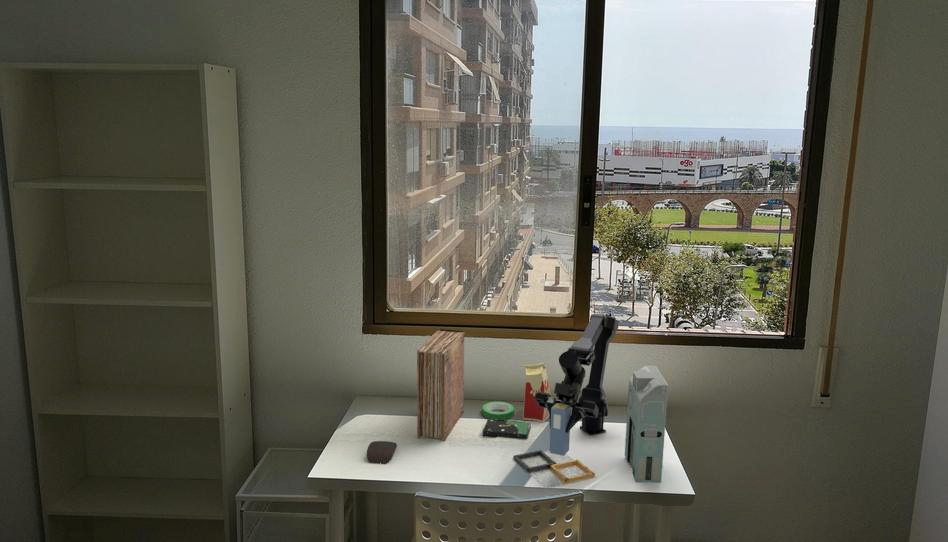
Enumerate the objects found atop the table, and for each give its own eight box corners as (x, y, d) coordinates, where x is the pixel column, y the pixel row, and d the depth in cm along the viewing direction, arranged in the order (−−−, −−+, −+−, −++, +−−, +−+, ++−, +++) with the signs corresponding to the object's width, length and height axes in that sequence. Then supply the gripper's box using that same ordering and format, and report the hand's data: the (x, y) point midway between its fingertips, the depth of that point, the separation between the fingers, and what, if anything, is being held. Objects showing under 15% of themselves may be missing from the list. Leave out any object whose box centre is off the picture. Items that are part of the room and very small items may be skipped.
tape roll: (509, 422, 268) (509, 415, 267) (478, 418, 271) (478, 411, 270) (517, 410, 278) (517, 403, 278) (487, 406, 281) (487, 400, 281)
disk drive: (482, 438, 256) (527, 442, 253) (482, 430, 255) (527, 433, 253) (487, 425, 266) (530, 429, 263) (487, 418, 265) (531, 421, 263)
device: (624, 456, 243) (629, 365, 236) (649, 457, 243) (655, 365, 236) (634, 482, 227) (640, 384, 220) (661, 482, 227) (668, 385, 220)
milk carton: (551, 413, 276) (553, 359, 271) (544, 423, 267) (546, 367, 263) (526, 409, 279) (527, 356, 274) (519, 419, 270) (520, 364, 266)
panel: (559, 449, 247) (559, 445, 247) (596, 478, 228) (596, 474, 228) (511, 459, 240) (511, 454, 240) (545, 490, 221) (545, 485, 221)
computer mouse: (364, 464, 236) (364, 451, 235) (374, 444, 250) (374, 433, 249) (390, 465, 236) (390, 453, 235) (399, 446, 249) (399, 434, 248)
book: (444, 441, 252) (444, 353, 245) (416, 438, 254) (416, 350, 247) (463, 412, 276) (464, 330, 269) (438, 409, 278) (438, 328, 271)
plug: (554, 446, 234) (556, 401, 231) (569, 449, 232) (571, 404, 229) (548, 454, 230) (549, 408, 226) (562, 457, 228) (564, 410, 224)
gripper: (537, 366, 234) (522, 413, 226) (597, 376, 226) (583, 425, 218) (546, 382, 242) (531, 428, 235) (604, 393, 234) (591, 441, 227)
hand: (558, 430), depth 229 cm, fingers closed on plug, 4 cm apart
